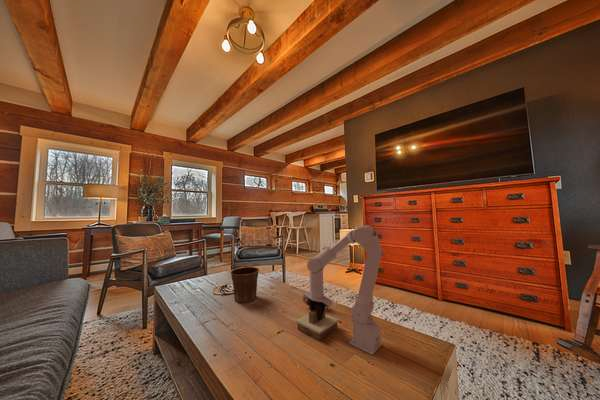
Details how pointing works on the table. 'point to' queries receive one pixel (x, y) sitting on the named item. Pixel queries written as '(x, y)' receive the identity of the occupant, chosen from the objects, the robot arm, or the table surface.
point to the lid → (317, 321)
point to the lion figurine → (307, 304)
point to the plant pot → (244, 284)
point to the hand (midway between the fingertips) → (317, 318)
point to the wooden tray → (316, 335)
